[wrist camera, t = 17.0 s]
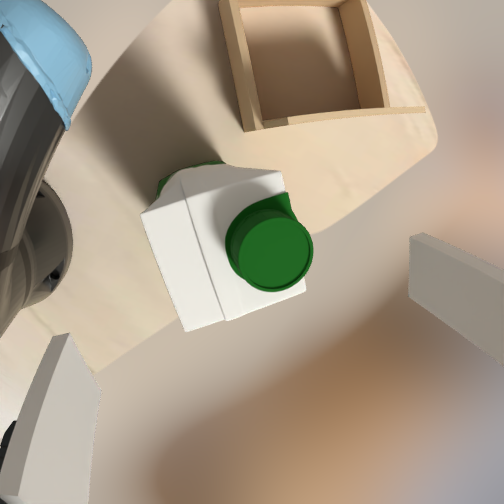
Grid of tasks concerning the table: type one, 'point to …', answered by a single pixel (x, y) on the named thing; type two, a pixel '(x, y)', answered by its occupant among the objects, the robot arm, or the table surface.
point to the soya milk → (226, 241)
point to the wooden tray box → (361, 55)
